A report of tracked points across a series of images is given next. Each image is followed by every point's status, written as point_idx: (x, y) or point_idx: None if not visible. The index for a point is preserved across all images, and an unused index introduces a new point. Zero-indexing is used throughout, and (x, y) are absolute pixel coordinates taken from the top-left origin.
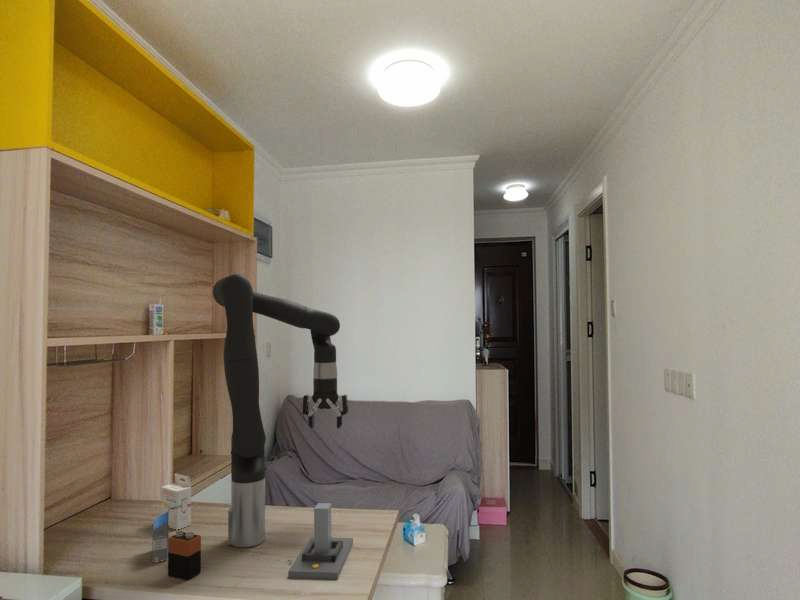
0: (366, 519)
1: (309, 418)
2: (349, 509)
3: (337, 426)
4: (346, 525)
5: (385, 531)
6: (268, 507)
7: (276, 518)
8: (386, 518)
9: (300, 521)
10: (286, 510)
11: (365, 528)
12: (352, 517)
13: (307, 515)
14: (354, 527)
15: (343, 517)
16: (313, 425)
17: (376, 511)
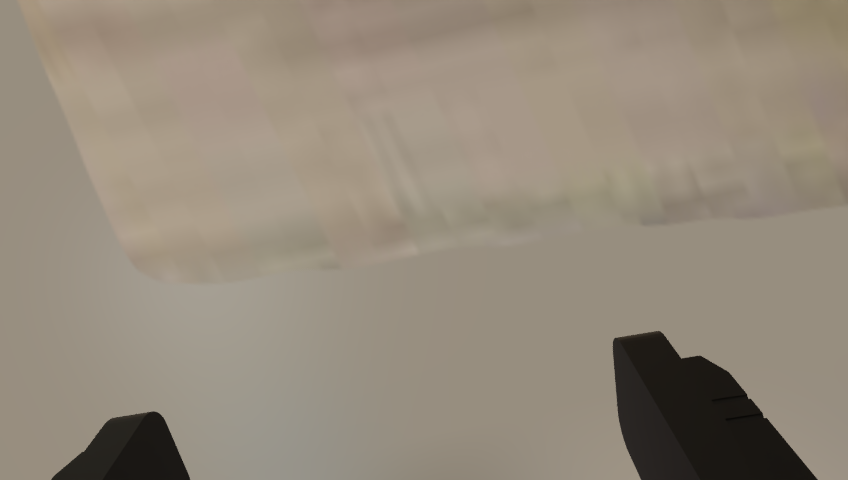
0: (210, 156)
1: (780, 474)
2: (350, 258)
3: (126, 430)
4: (269, 57)
5: (44, 29)
6: (769, 192)
7: (670, 58)
8: (124, 191)
9: (525, 50)
10: (658, 175)
11: (158, 42)
12: (289, 165)
13: (523, 137)
14: (217, 41)
15: (332, 154)
16: (629, 419)
17: (213, 263)
